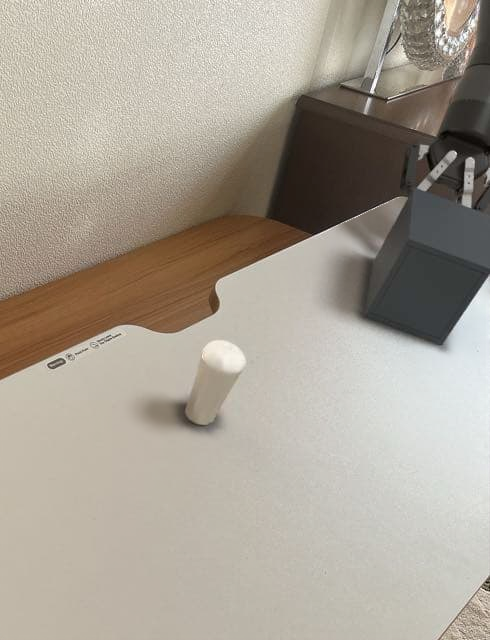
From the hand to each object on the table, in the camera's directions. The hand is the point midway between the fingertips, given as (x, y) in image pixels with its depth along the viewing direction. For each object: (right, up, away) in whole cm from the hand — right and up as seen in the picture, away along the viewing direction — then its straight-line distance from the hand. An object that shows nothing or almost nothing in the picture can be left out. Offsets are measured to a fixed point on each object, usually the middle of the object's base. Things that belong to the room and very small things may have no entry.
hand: (428, 232), depth 121 cm
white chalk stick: (-34, -29, -26) cm, 52 cm away
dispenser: (-4, -10, -3) cm, 11 cm away
